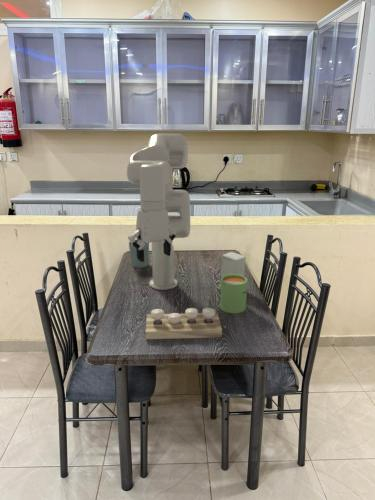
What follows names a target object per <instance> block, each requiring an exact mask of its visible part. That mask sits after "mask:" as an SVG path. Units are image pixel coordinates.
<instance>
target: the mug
mask: <svg viewBox="0 0 375 500" xmlns="http://www.w3.org/2000/svg"><path fill="white" fill-rule="evenodd" d="M220 283H221V288H220V298H219V299H220V300H219V301H220V302H219V303H220V305H219V306H220V307H219V308H220V309H221V311H223V312H225V313H228V314H239V313H243V312H244V311H245V310H246V309H247V295H248V294H247V291H248V278H247V277H245V275H244V276H241V275H236V274H230V275H225V276H223V277H222V278H221V277H220Z"/></svg>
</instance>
